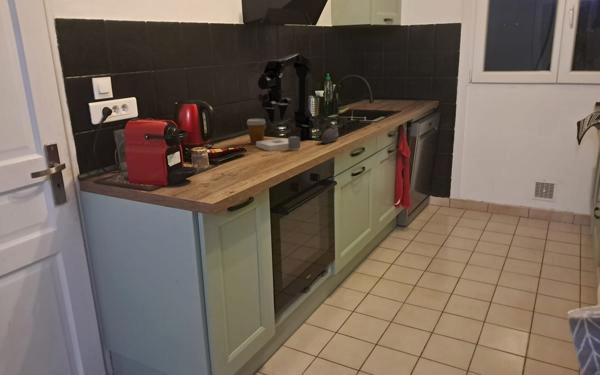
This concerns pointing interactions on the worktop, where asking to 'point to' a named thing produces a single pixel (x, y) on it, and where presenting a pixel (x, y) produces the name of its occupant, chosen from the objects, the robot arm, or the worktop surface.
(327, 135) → the perforated stone tool
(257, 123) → the disposable coffee cup
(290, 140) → the grey cylinder
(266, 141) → the socket plate
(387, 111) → the worktop surface
